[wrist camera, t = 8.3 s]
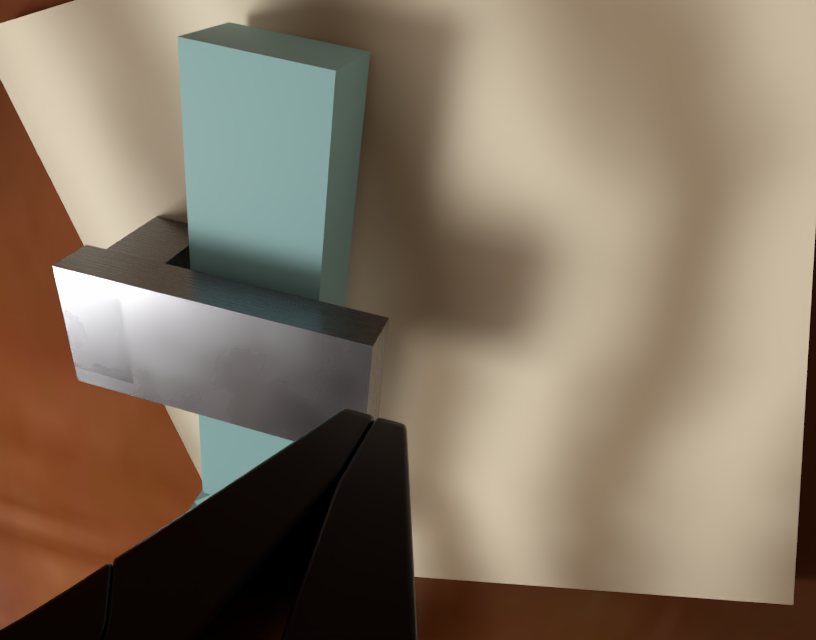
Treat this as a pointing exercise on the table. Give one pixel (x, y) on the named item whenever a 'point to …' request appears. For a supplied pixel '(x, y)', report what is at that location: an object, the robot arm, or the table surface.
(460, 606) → the table surface
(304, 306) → the pintle and keeper
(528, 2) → the base board
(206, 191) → the link
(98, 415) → the table surface
